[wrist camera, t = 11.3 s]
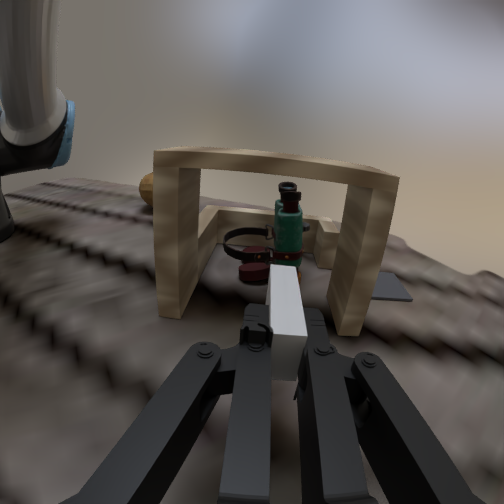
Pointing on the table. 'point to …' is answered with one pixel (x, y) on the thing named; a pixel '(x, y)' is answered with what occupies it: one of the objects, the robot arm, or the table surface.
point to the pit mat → (389, 288)
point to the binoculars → (284, 235)
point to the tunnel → (229, 218)
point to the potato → (147, 189)
